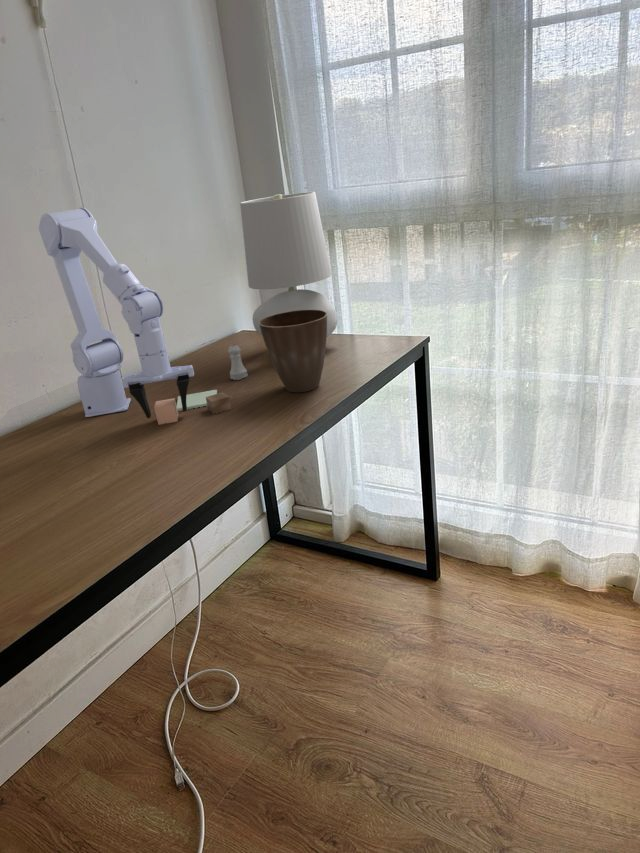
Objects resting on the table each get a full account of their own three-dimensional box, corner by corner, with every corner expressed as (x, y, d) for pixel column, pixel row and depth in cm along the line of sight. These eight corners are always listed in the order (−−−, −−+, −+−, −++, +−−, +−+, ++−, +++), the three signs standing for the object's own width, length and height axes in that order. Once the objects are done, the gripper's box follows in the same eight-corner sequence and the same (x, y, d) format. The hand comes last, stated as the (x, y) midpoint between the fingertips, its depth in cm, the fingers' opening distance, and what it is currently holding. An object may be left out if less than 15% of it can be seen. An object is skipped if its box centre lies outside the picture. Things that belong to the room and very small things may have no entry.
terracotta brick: (158, 425, 141) (154, 407, 139) (160, 418, 144) (155, 401, 143) (177, 421, 141) (173, 404, 139) (178, 415, 145) (174, 398, 143)
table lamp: (244, 365, 174) (214, 205, 159) (273, 342, 193) (249, 196, 178) (328, 361, 166) (305, 193, 152) (350, 337, 185) (331, 185, 171)
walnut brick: (214, 414, 142) (211, 401, 141) (208, 410, 145) (205, 397, 144) (231, 409, 144) (229, 396, 142) (225, 405, 147) (222, 392, 146)
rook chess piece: (251, 374, 165) (246, 343, 162) (242, 380, 161) (236, 348, 159) (236, 374, 167) (230, 343, 164) (226, 380, 163) (220, 349, 160)
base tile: (177, 413, 147) (176, 408, 147) (179, 401, 155) (178, 396, 155) (218, 406, 148) (216, 401, 147) (217, 394, 156) (216, 389, 156)
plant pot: (296, 374, 160) (286, 308, 154) (348, 378, 152) (340, 309, 146) (257, 395, 149) (244, 325, 143) (311, 401, 141) (300, 327, 135)
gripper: (114, 362, 133) (130, 425, 138) (187, 350, 134) (200, 413, 139) (118, 354, 139) (134, 414, 144) (188, 342, 140) (201, 402, 145)
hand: (167, 413), depth 142 cm, fingers open, 7 cm apart
